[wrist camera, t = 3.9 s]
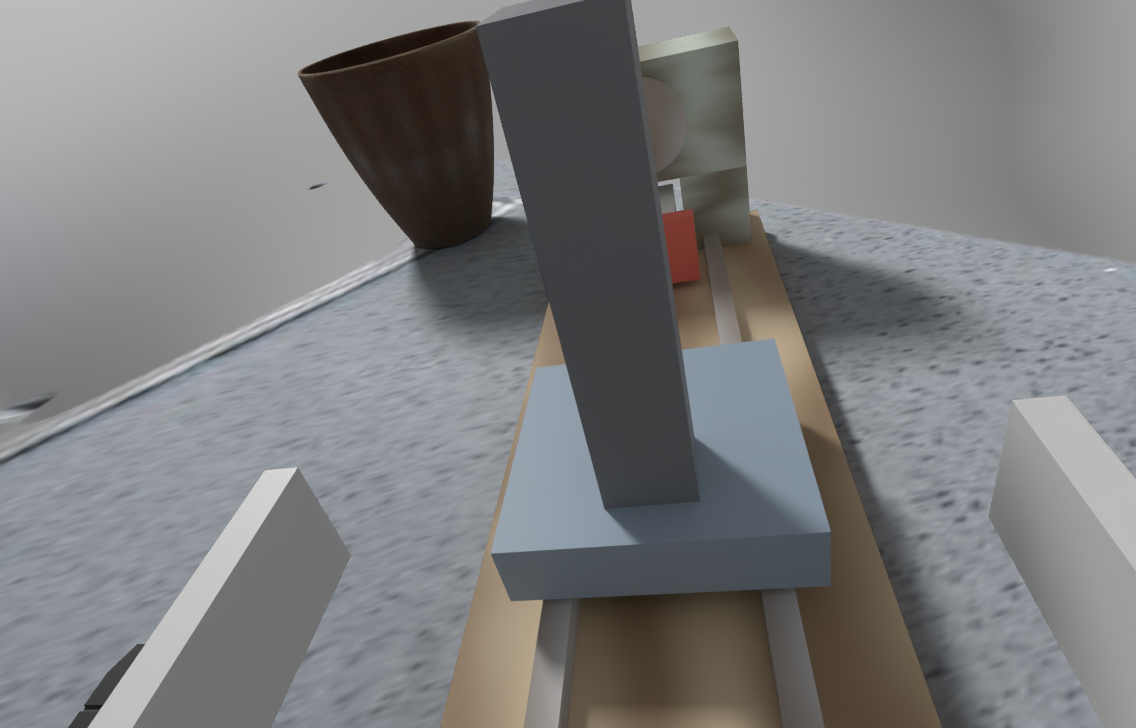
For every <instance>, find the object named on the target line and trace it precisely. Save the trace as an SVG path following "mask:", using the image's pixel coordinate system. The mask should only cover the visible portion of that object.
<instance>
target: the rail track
mask: <svg viewBox="0 0 1136 728" xmlns="http://www.w3.org/2000/svg"><path fill="white" fill-rule="evenodd" d="M638 52H639V59H640V66H641V73H642V79H643V86H644V93H645V100H646V107H647V114H648V121H649V128H650V134H651V141H652V148H653V155H654V162H655V169H656V176H657V182H660V181H665V180H671V179H677V178H680V185H681V193H682V201H683V209H684V210H688V209H692V210H693V218H694V226H695V235H696V243H697V252H698V260H699V268H700V277H701V279H699V280H692V281H685V282H678V283H672V286H673V292H674V299H675V306H676V313H677V320H678V327H679V334H680V341H681V347H682V350H684V349H692V348H700V347H708V346H717V345H725V344H733V343H741V342H749V341H757V340H765V339H773V338H775V342H776V345H777V348H778V352H779V355H780V359H781V362H782V366H783V369H784V372H785V376H786V379H787V383H788V386H789V390H790V393H791V396H792V400H793V403H794V407H795V410H796V414H797V417H798V420H799V424H800V427H801V431H802V434H803V438H804V441H805V444H806V448H807V451H808V455H809V458H810V462H811V465H812V468H813V472H814V475H815V479H816V482H817V486H818V489H819V492H820V496H821V499H822V503H823V506H824V510H825V513H826V516H827V520H828V523H829V527H830V530H831V586H823V587H802V588H781V589H760V590H739V591H718V592H696V593H675V594H654V595H633V596H612V597H591V598H570V599H549V600H528V601H510V598H509V596H508V593H507V591H506V589H505V586H504V584H503V582H502V579H501V577H500V575H499V572H498V570H497V568H496V565H495V563H494V561H493V558H492V556H491V550H492V545H493V541H494V537H495V533H496V529H497V525H498V521H499V517H500V513H501V509H502V505H503V501H504V497H505V493H506V489H507V484H508V480H509V476H510V472H511V468H512V464H513V460H514V456H515V452H516V448H517V444H518V440H519V436H520V432H521V427H522V423H523V419H524V415H525V411H526V407H527V403H528V399H529V395H530V391H531V387H532V383H533V379H534V375H535V371H536V368H538V367H547V366H555V365H563V364H566V363H565V360H564V356H563V352H562V348H561V345H560V341H559V337H558V333H557V330H556V326H555V322H554V318H553V315H552V311H551V307H550V303H549V302H548V306H547V310H546V314H545V318H544V322H543V326H542V330H541V334H540V338H539V342H538V346H537V349H536V353H535V357H534V361H533V365H532V369H531V373H530V377H529V381H528V385H527V389H526V393H525V396H524V400H523V404H522V408H521V412H520V416H519V420H518V424H517V428H516V432H515V436H514V440H513V444H512V447H511V451H510V455H509V459H508V463H507V467H506V471H505V475H504V479H503V483H502V487H501V491H500V494H499V498H498V502H497V506H496V510H495V514H494V518H493V522H492V526H491V530H490V534H489V538H488V541H487V545H486V549H485V553H484V557H483V561H482V565H481V569H480V573H479V577H478V581H477V585H476V588H475V592H474V596H473V600H472V604H471V608H470V612H469V616H468V620H467V624H466V628H465V632H464V635H463V639H462V643H461V647H460V651H459V655H458V659H457V663H456V667H455V671H454V675H453V679H452V683H451V686H450V690H449V694H448V698H447V702H446V706H445V710H444V714H443V718H442V722H441V726H440V728H942V725H941V722H940V720H939V717H938V714H937V711H936V708H935V706H934V703H933V700H932V697H931V694H930V692H929V689H928V686H927V683H926V680H925V678H924V675H923V672H922V669H921V667H920V664H919V661H918V658H917V655H916V653H915V650H914V647H913V644H912V641H911V639H910V636H909V633H908V630H907V627H906V625H905V622H904V619H903V616H902V613H901V611H900V608H899V605H898V602H897V599H896V597H895V594H894V591H893V588H892V585H891V583H890V580H889V577H888V574H887V572H886V569H885V566H884V563H883V560H882V558H881V555H880V552H879V549H878V546H877V544H876V541H875V538H874V535H873V532H872V530H871V527H870V524H869V521H868V518H867V516H866V513H865V510H864V507H863V504H862V502H861V499H860V496H859V493H858V490H857V488H856V485H855V482H854V479H853V477H852V474H851V471H850V468H849V465H848V463H847V460H846V457H845V454H844V451H843V449H842V446H841V443H840V440H839V437H838V435H837V432H836V429H835V426H834V423H833V421H832V418H831V415H830V412H829V409H828V407H827V404H826V401H825V398H824V395H823V393H822V390H821V387H820V384H819V382H818V379H817V376H816V373H815V370H814V368H813V365H812V362H811V359H810V356H809V354H808V351H807V348H806V345H805V342H804V340H803V337H802V334H801V331H800V328H799V326H798V323H797V320H796V317H795V314H794V312H793V309H792V306H791V303H790V300H789V298H788V295H787V292H786V289H785V286H784V284H783V281H782V278H781V275H780V273H779V270H778V267H777V264H776V261H775V259H774V256H773V253H772V250H771V247H770V245H769V242H768V239H767V236H766V233H765V231H764V228H763V225H762V222H761V219H760V217H759V214H758V211H757V210H755V211H750V210H749V196H748V181H747V166H746V152H745V136H744V122H743V108H742V93H741V78H740V64H739V49H738V40H737V38H736V37H735V35H734V34H733V32H732V31H731V29H730V28H729V27H725V28H721V29H716V30H712V31H707V32H703V33H699V34H694V35H689V36H685V37H680V38H676V39H671V40H667V41H662V42H658V43H653V44H649V45H644V46H640V47H638Z"/></svg>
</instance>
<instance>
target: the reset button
mask: <svg viewBox="0 0 1136 728" xmlns="http://www.w3.org/2000/svg"><path fill="white" fill-rule="evenodd" d="M658 189H659V196H660V203H661V210H662V217H663V224H664V231H665V237H666V244H667V251H668V258H669V265H670V272H671V279H672V283H678V282H685V281H692V280H699V279H701V277H700V268H699V260H698V252H697V243H696V235H695V226H694V218H693V210H692V209H688V210H682V211H676V206H675V198H674V191H673V184H669V185H663V186H658Z"/></svg>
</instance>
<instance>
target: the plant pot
mask: <svg viewBox="0 0 1136 728" xmlns="http://www.w3.org/2000/svg"><path fill="white" fill-rule="evenodd" d="M480 23H481V22H480V21H466V22H458V23H452V24H448V25H442V26H437V27H433V28H429V29H424V30H420V31H416V32H412V33H408V34H404V35H400V36H396V37H393V38H389V39H385V40H382V41H378V42H375V43H371V44H368V45H364V46H362V47H358V48H355V49H352V50H349V51H346V52H342V53H339V54H337V55H334V56H331V57H329V58H326V59H323V60H321V61H318V62H316V63H313V64H311V65H309V66H307V67H305V68H303V69H301V70H300V71H299V72H298V75H299V78H300V79H301V81H302V83H303V85H304V87H305V88H306V90H307V92H308V94H309V95H310V97H311V99H312V100H313V102H314V104H315V106H316V107H317V109H318V111H319V113H320V114H321V116H322V118H323V120H324V121H325V123H326V124H327V126H328V128H329V129H330V131H331V133H332V134H333V136H334V138H335V139H336V141H337V142H338V144H339V146H340V147H341V149H342V150H343V152H344V153H345V155H346V157H347V158H348V159H349V161H350V162H351V164H352V165H353V167H354V168H355V170H356V171H357V173H358V174H359V176H360V177H361V178H362V180H363V181H364V182H365V184H366V185H367V187H368V188H369V189H370V191H371V192H372V193H373V195H374V196H375V197H376V199H377V200H378V201H379V203H380V204H381V205H382V206H383V208H384V209H385V210H386V211H387V213H388V214H389V215H390V216H391V217H392V219H393V220H394V221H395V222H396V223H397V224H398V226H399V227H400V228H401V229H402V230H403V232H404V233H405V234H406V235H407V236H408V237H409V238H410V240H411V241H412V242H413V243H414V244H415V245H416V246H418V247H421V248H426V249H435V248H443V247H449V246H453V245H456V244H459V243H462V242H465V241H467V240H469V239H471V238H474V237H476V236H477V235H479V234H480V233H482V232H483V231H484V230H485V229H486V228H487V227H488V226H489V225H490V222H491V213H492V201H493V185H494V137H493V116H492V100H491V89H490V80H489V75H488V71H487V67H486V63H485V60H484V56H483V52H482V48H481V45H480V41H479V37H478V33H477V30H476V26H477V25H478V24H480Z"/></svg>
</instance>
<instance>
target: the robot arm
mask: <svg viewBox="0 0 1136 728" xmlns="http://www.w3.org/2000/svg"><path fill="white" fill-rule="evenodd" d="M989 518H990V520H991V522H992V523H993V525H994V527H995V529H996V531H997V532H998V534H999V536H1000V538H1001V540H1002V542H1003V543H1004V545H1005V547H1006V549H1007V551H1008V552H1009V554H1010V556H1011V558H1012V560H1013V562H1014V563H1015V565H1016V567H1017V569H1018V571H1019V573H1020V574H1021V576H1022V578H1023V580H1024V582H1025V583H1026V585H1027V587H1028V589H1029V591H1030V593H1031V594H1032V596H1033V598H1034V600H1035V602H1036V603H1037V605H1038V607H1039V609H1040V611H1041V613H1042V614H1043V616H1044V618H1045V620H1046V622H1047V624H1048V625H1049V627H1050V629H1051V631H1052V633H1053V634H1054V636H1055V638H1056V640H1057V642H1058V644H1059V645H1060V647H1061V649H1062V651H1063V653H1064V654H1065V656H1066V658H1067V660H1068V662H1069V664H1070V665H1071V667H1072V669H1073V671H1074V673H1075V675H1076V676H1077V678H1078V680H1079V682H1080V684H1081V685H1082V687H1083V689H1084V691H1085V693H1086V695H1087V696H1088V698H1089V700H1090V702H1091V704H1092V705H1093V707H1094V709H1095V711H1096V713H1097V715H1098V716H1099V718H1100V720H1101V722H1102V724H1103V725H1104V727H1105V728H1136V479H1135V478H1134V476H1133V475H1132V474H1131V473H1130V472H1129V470H1128V469H1127V468H1126V467H1125V466H1124V464H1123V463H1122V462H1121V461H1120V460H1119V459H1118V457H1117V456H1116V455H1115V454H1114V453H1113V451H1112V450H1111V449H1110V448H1109V447H1108V445H1107V444H1106V443H1105V442H1104V441H1103V440H1102V438H1101V437H1100V436H1099V435H1098V434H1097V432H1096V431H1095V430H1094V429H1093V428H1092V426H1091V425H1090V424H1089V423H1088V422H1087V421H1086V419H1085V418H1084V417H1083V416H1082V415H1081V413H1080V412H1079V411H1078V410H1077V409H1076V407H1075V406H1074V405H1073V404H1072V403H1071V402H1070V400H1069V399H1068V398H1067V397H1066V396H1065V395H1064V396H1054V397H1043V398H1033V399H1022V400H1012V403H1011V408H1010V413H1009V418H1008V423H1007V428H1006V433H1005V438H1004V443H1003V448H1002V453H1001V458H1000V463H999V468H998V473H997V478H996V483H995V488H994V493H993V498H992V503H991V508H990V513H989ZM350 556H351V555H350V553H349V551H348V550H347V548H346V546H345V545H344V543H343V541H342V540H341V538H340V536H339V535H338V533H337V531H336V530H335V528H334V527H333V525H332V523H331V522H330V520H329V518H328V517H327V515H326V513H325V512H324V510H323V508H322V507H321V505H320V503H319V502H318V500H317V498H316V497H315V495H314V493H313V492H312V490H311V489H310V487H309V485H308V484H307V482H306V480H305V479H304V477H303V475H302V474H301V472H300V470H299V469H298V467H297V468H286V469H276V470H265V471H264V473H263V474H262V476H261V477H260V479H259V480H258V481H257V483H256V484H255V486H254V487H253V489H252V490H251V492H250V493H249V495H248V496H247V497H246V499H245V500H244V502H243V503H242V505H241V506H240V508H239V509H238V510H237V512H236V513H235V515H234V516H233V518H232V519H231V521H230V522H229V524H228V525H227V526H226V528H225V529H224V531H223V532H222V534H221V535H220V537H219V538H218V539H217V541H216V542H215V544H214V545H213V547H212V548H211V550H210V551H209V553H208V554H207V555H206V557H205V558H204V560H203V561H202V563H201V564H200V566H199V567H198V568H197V570H196V571H195V573H194V574H193V576H192V577H191V579H190V580H189V582H188V583H187V584H186V586H185V587H184V589H183V590H182V592H181V593H180V595H179V596H178V597H177V599H176V600H175V602H174V603H173V605H172V606H171V608H170V609H169V611H168V612H167V613H166V615H165V616H164V618H163V619H162V621H161V622H160V624H159V625H158V626H157V628H156V629H155V631H154V632H153V634H152V635H151V637H150V638H149V640H148V641H147V642H146V644H137V645H136V646H135V647H134V648H133V649H132V650H131V651H130V652H129V653H128V654H127V655H125V656H124V657H123V658H122V659H121V660H120V661H119V662H118V663H117V664H116V665H115V666H114V667H113V668H112V669H111V670H110V671H109V672H108V673H107V674H106V675H105V677H104V678H103V680H102V681H101V682H100V684H99V685H98V687H97V688H96V689H95V691H94V692H93V694H92V695H91V696H90V698H89V699H88V701H87V702H86V703H85V709H84V710H83V711H80V712H79V713H78V715H77V716H76V717H75V719H74V720H73V722H72V723H71V725H70V726H69V727H68V728H271V726H272V723H273V721H274V719H275V717H276V715H277V713H278V711H279V708H280V706H281V704H282V702H283V700H284V698H285V696H286V693H287V691H288V689H289V687H290V685H291V683H292V681H293V678H294V676H295V674H296V672H297V670H298V668H299V666H300V663H301V661H302V659H303V657H304V655H305V653H306V651H307V648H308V646H309V644H310V642H311V640H312V638H313V636H314V633H315V631H316V629H317V627H318V625H319V623H320V621H321V618H322V616H323V614H324V612H325V610H326V608H327V606H328V603H329V601H330V599H331V597H332V595H333V593H334V591H335V589H336V586H337V584H338V582H339V580H340V578H341V576H342V574H343V571H344V569H345V567H346V565H347V563H348V561H349V559H350Z"/></svg>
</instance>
